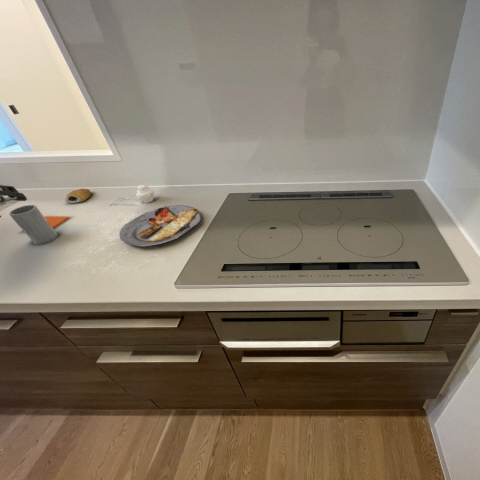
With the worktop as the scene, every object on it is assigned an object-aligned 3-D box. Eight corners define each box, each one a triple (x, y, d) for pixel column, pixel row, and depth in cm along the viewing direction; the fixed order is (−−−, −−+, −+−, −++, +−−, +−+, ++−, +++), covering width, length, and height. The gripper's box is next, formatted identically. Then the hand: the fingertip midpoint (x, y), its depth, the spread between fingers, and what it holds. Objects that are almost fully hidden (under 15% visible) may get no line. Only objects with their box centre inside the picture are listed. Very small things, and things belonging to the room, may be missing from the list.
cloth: (23, 231, 91) (22, 230, 90) (46, 217, 98) (45, 216, 98) (47, 232, 90) (46, 230, 90) (69, 218, 98) (68, 216, 97)
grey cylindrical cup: (28, 243, 85) (3, 214, 79) (45, 232, 90) (22, 204, 83) (46, 244, 85) (22, 215, 78) (62, 233, 90) (40, 204, 83)
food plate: (166, 205, 104) (163, 197, 101) (215, 215, 97) (213, 207, 95) (106, 242, 85) (100, 233, 83) (162, 257, 78) (158, 248, 76)
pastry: (79, 193, 113) (74, 185, 111) (96, 192, 114) (92, 184, 112) (66, 204, 106) (60, 195, 104) (84, 203, 107) (78, 194, 104)
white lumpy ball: (136, 202, 106) (129, 186, 102) (151, 196, 110) (144, 180, 106) (145, 206, 104) (137, 189, 99) (160, 199, 108) (153, 183, 104)
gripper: (-43, 171, 61) (22, 181, 77) (-101, 208, 60) (-22, 210, 76) (-17, 198, 62) (42, 202, 78) (-73, 234, 61) (-1, 231, 77)
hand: (11, 206), depth 77 cm, fingers open, 8 cm apart
